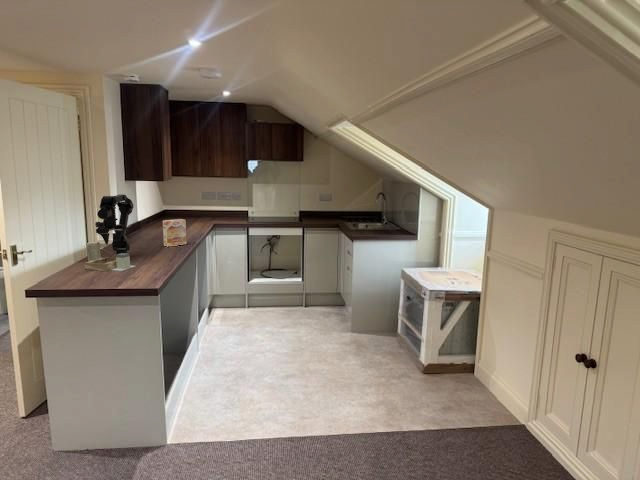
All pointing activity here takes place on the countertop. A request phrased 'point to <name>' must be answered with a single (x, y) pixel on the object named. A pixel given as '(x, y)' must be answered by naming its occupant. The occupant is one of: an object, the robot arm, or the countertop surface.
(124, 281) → the countertop surface
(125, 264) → the sage box
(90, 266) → the wooden frame
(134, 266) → the grey mat
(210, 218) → the countertop surface
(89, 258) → the skincare box
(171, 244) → the coffeecake box
